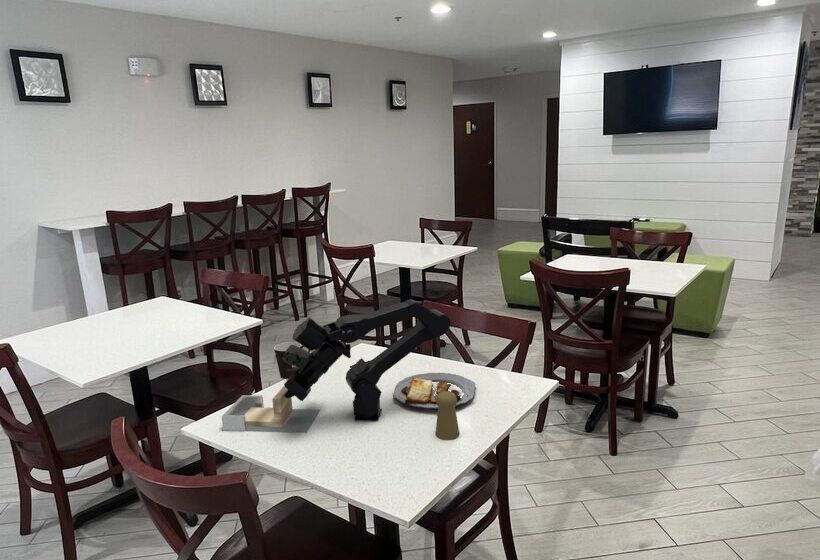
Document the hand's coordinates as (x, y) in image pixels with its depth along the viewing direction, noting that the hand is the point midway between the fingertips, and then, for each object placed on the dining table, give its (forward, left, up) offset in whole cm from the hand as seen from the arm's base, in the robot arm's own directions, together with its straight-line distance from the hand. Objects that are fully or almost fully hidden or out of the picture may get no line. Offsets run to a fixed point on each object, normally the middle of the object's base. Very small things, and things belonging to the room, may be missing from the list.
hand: (286, 396), depth 147 cm
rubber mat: (+5, 0, -7) cm, 9 cm away
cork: (-43, +5, -7) cm, 44 cm away
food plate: (-38, -18, -8) cm, 43 cm away
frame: (+12, 0, -7) cm, 14 cm away
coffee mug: (+9, -32, -7) cm, 34 cm away
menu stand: (+6, 0, -7) cm, 9 cm away
